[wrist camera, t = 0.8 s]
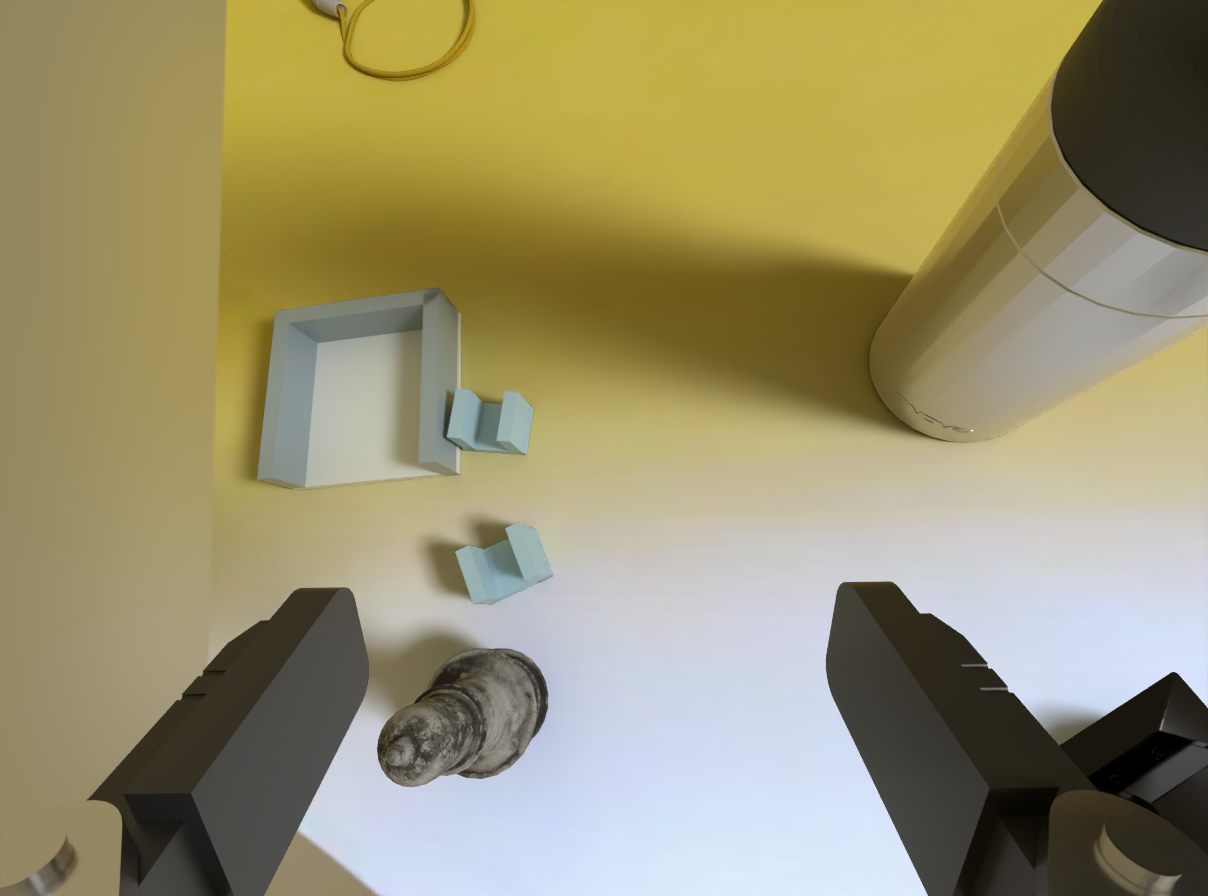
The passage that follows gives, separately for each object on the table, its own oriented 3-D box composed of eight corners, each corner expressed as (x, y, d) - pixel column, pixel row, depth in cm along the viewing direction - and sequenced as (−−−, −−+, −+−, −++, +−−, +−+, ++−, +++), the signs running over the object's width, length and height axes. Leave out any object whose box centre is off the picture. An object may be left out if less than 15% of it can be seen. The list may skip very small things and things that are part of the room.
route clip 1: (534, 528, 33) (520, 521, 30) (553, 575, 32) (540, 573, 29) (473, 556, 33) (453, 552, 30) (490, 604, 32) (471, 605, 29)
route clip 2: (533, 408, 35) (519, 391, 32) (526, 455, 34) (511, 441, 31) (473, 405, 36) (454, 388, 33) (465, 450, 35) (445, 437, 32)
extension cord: (431, -68, 49) (420, -95, 47) (503, 44, 44) (494, 19, 42) (309, -1, 49) (293, -25, 47) (368, 118, 44) (353, 96, 42)
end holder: (310, 335, 39) (275, 310, 36) (461, 315, 38) (439, 287, 34) (297, 490, 36) (256, 479, 33) (460, 474, 35) (435, 461, 31)
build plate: (1079, 931, 25) (1160, 1001, 21) (963, 772, 27) (1015, 806, 23) (1306, 779, 25) (1435, 817, 21) (1173, 634, 27) (1265, 640, 23)
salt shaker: (543, 768, 30) (451, 875, 18) (440, 747, 31) (291, 835, 19) (561, 652, 31) (485, 682, 20) (462, 635, 32) (335, 655, 21)
